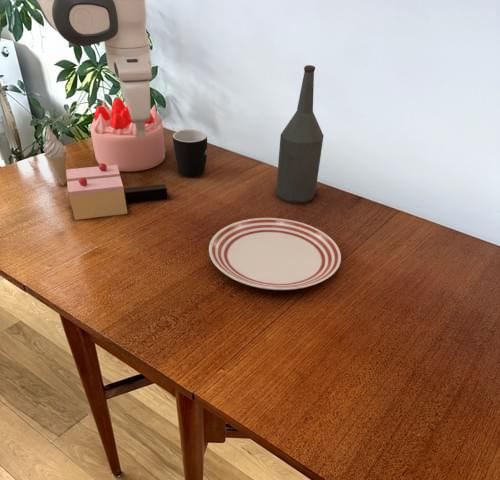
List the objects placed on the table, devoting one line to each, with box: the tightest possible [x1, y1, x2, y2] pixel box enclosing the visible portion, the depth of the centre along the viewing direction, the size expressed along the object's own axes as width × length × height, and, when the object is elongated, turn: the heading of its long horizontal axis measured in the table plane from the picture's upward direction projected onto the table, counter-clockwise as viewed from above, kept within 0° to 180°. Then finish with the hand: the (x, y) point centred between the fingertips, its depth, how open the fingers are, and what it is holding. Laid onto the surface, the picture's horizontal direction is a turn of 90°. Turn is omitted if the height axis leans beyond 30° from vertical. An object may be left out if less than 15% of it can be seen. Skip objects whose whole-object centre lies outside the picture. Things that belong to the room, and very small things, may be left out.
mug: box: [172, 128, 208, 178], centre depth 126 cm, size 12×9×10 cm
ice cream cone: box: [42, 125, 67, 186], centre depth 115 cm, size 5×5×15 cm
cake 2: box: [89, 97, 166, 173], centre depth 129 cm, size 20×20×14 cm
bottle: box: [275, 64, 324, 204], centre depth 110 cm, size 10×10×30 cm
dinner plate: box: [208, 217, 342, 291], centre depth 97 cm, size 28×27×3 cm
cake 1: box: [65, 163, 128, 221], centre depth 110 cm, size 12×12×9 cm
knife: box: [67, 183, 169, 207], centre depth 113 cm, size 23×2×4 cm, turn 108°
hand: (137, 129), depth 104 cm, fingers open, 8 cm apart
